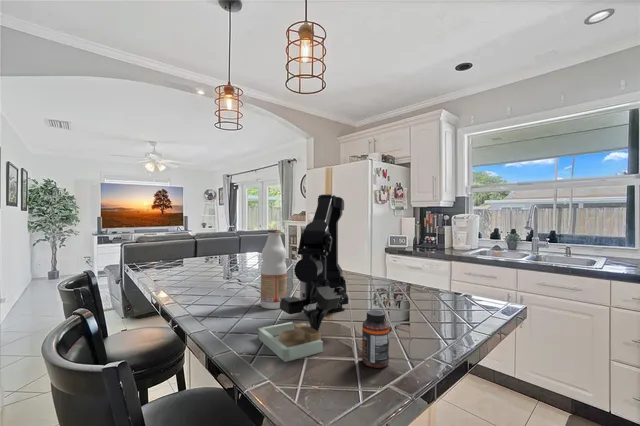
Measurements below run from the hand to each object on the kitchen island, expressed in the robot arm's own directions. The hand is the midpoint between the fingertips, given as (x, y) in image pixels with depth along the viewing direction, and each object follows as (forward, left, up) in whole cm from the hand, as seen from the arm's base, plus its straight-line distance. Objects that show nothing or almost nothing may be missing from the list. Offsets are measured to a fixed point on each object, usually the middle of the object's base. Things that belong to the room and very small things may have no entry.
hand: (315, 333), depth 83 cm
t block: (+6, 0, -1) cm, 6 cm away
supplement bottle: (-4, +19, -2) cm, 19 cm away
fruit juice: (-3, -34, -2) cm, 34 cm away
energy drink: (-16, -32, -2) cm, 36 cm away
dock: (+8, 0, -1) cm, 8 cm away
